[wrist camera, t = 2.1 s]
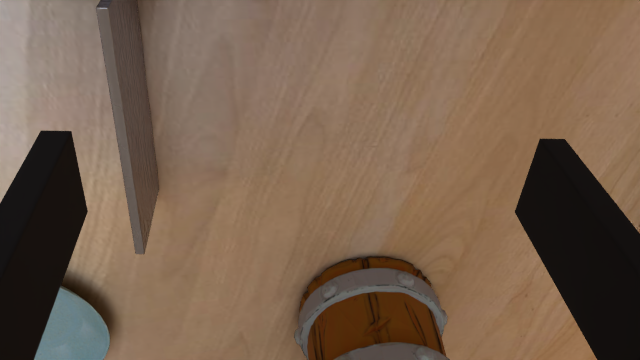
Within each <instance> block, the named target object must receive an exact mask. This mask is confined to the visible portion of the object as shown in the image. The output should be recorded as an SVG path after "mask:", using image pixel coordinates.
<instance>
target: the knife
mask: <svg viewBox="0 0 640 360" xmlns="http://www.w3.org/2000/svg"><path fill="white" fill-rule="evenodd" d="M96 11H97V17H98V23H99V30H100V36H101V42H102V48H103V54H104V61H105V67H106V73H107V79H108V85H109V92H110V98H111V104H112V110H113V116H114V123H115V129H116V135H117V141H118V147H119V154H120V160H121V166H122V172H123V179H124V185H125V191H126V197H127V203H128V210H129V216H130V222H131V228H132V234H133V241H134V247H135V253H136V254H145V250H146V245H147V241H148V237H149V232H150V228H151V223H152V219H153V214H154V210H155V205H156V201H157V196H158V192H159V184H158V175H157V167H156V158H155V150H154V141H153V133H152V124H151V116H150V108H149V99H148V91H147V82H146V74H145V65H144V57H143V48H142V40H141V32H140V23H139V15H138V6H137V0H100V2H99V4H98V5H97V7H96Z"/></svg>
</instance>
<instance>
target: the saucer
mask: <svg viewBox="0 0 640 360" xmlns="http://www.w3.org/2000/svg"><path fill="white" fill-rule="evenodd" d="M109 344H110V335H109V331H108V328H107V326H106V323H105V322H104V320H103V318H102V317H101V316H100V314H99V313H98V312H97V311H96V310H95V309H94V308H93V307H92V306H91V305H90V304H89V303H88V302H86V301H85V300H84V299H83V298H81V297H80V296H78V295H77V294H75V293H74V292H72V291H70V290H69V289H67V288H65V287H63V286H60V289H59V292H58V295H57V297H56V300H55V303H54V306H53V309H52V311H51V314H50V317H49V320H48V322H47V325H46V328H45V331H44V333H43V336H42V339H41V342H40V344H39V347H38V350H37V353H36V355H35V358H34V360H103V359H104V358H105V356H106V354H107V352H108V349H109V346H110V345H109Z"/></svg>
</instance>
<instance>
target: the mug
mask: <svg viewBox="0 0 640 360" xmlns="http://www.w3.org/2000/svg"><path fill="white" fill-rule="evenodd" d="M307 288H308V293H306V294H304V295H303V297H302V300H301V305H300V309H299V311H300V315H299V319H298V326H299V328H298V329H297V330H295V334H294V338H295V340H296V343H297V344H299V345H301V349H302V351H303V353H304V355H305V356H306V358H307V359H308V360H450V359H449V358H447V357H446V354H445V350H444V346H443V342H442V338H441V337H442V334H443V331H444V325H445V324H446V323H447V315H446V313H445V311H444V310H442V309H441V306H440V302H439V300H438V298H437V296H436V294H435V293H434V291H433V289H432V287H431V283H430V282H429V280H428V279H427V278H426V277H423V276H422V273H421V271H420V270H415V268H414V267H413V265H412V264H409V263H407V262H405V261H401V260H396V259H391V258H376V257H367V258H366V259H365V260H364V259H362V258H358V259H357V260H355V261H354V260H347V261H344V262H341V263H339V264H337V265H335V266H333V267H331V268H329V269H327V270H326V271H324V272H323V273H322V275H321V276H320V277H318V278H315V279H314V280H313V282H312V283H311V284H310V285H309V286H308V287H307Z"/></svg>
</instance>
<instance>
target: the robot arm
mask: <svg viewBox="0 0 640 360" xmlns="http://www.w3.org/2000/svg"><path fill="white" fill-rule="evenodd" d="M87 212H88V211H87V206H86V201H85V196H84V191H83V186H82V182H81V177H80V172H79V167H78V162H77V157H76V152H75V147H74V142H73V137H72V132H71V131H41V132H40V134H39V135H38V137H37V139H36V141H35V142H34V144H33V146H32V148H31V150H30V151H29V153H28V155H27V157H26V159H25V160H24V162H23V164H22V166H21V167H20V169H19V171H18V173H17V175H16V176H15V178H14V180H13V182H12V184H11V185H10V187H9V189H8V191H7V192H6V194H5V196H4V198H3V200H2V201H1V203H0V360H34V358H35V355H36V353H37V350H38V347H39V344H40V342H41V339H42V336H43V333H44V331H45V328H46V325H47V322H48V320H49V317H50V314H51V311H52V309H53V306H54V303H55V300H56V297H57V295H58V292H59V289H60V286H61V284H62V281H63V278H64V275H65V273H66V270H67V267H68V264H69V262H70V259H71V256H72V253H73V251H74V248H75V245H76V242H77V240H78V237H79V234H80V231H81V228H82V226H83V223H84V220H85V217H86V215H87ZM515 213H516V215H517V217H518V219H519V221H520V222H521V224H522V226H523V228H524V230H525V231H526V233H527V235H528V237H529V239H530V240H531V242H532V244H533V246H534V247H535V249H536V251H537V253H538V255H539V256H540V258H541V260H542V262H543V264H544V265H545V267H546V269H547V271H548V272H549V274H550V276H551V278H552V280H553V281H554V283H555V285H556V287H557V289H558V290H559V292H560V294H561V296H562V298H563V299H564V301H565V303H566V305H567V306H568V308H569V310H570V312H571V314H572V315H573V317H574V319H575V321H576V323H577V324H578V326H579V328H580V330H581V332H582V333H583V335H584V337H585V339H586V340H587V342H588V344H589V346H590V348H591V349H592V351H593V353H594V355H595V357H596V358H597V360H640V234H639V232H638V231H637V230H636V228H635V227H634V226H633V225H632V223H631V222H630V221H629V220H628V218H627V217H626V216H625V215H624V213H623V212H622V211H621V210H620V208H619V207H618V206H617V204H616V203H615V202H614V201H613V199H612V198H611V197H610V196H609V194H608V193H607V192H606V191H605V189H604V188H603V187H602V186H601V184H600V183H599V182H598V180H597V179H596V178H595V177H594V175H593V174H592V173H591V172H590V170H589V169H588V168H587V167H586V165H585V164H584V163H583V162H582V160H581V159H580V158H579V156H578V155H577V154H576V153H575V151H574V150H573V149H572V148H571V146H570V145H569V144H568V143H567V141H566V140H565V139H540V140H539V143H538V146H537V149H536V152H535V155H534V158H533V160H532V163H531V166H530V169H529V172H528V175H527V178H526V181H525V184H524V187H523V189H522V192H521V195H520V198H519V201H518V204H517V207H516V210H515Z"/></svg>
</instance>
